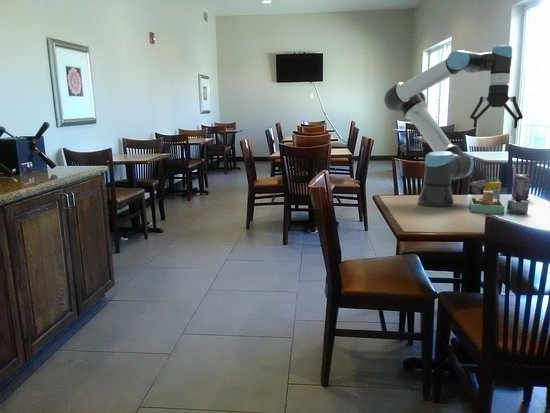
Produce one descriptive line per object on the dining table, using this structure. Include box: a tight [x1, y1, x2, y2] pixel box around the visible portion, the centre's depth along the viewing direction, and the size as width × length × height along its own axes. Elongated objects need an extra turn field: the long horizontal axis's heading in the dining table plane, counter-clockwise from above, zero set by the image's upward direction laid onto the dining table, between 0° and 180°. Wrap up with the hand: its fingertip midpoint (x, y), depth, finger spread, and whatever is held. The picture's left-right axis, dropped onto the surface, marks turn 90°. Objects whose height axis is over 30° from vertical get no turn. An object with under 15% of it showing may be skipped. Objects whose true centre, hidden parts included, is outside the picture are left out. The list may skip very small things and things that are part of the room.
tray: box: [468, 197, 506, 215], centre depth 198 cm, size 12×17×3 cm
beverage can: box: [511, 173, 531, 201], centre depth 223 cm, size 7×7×12 cm
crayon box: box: [484, 176, 502, 200], centre depth 212 cm, size 7×3×12 cm, turn 114°
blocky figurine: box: [506, 175, 529, 216], centre depth 189 cm, size 8×8×16 cm
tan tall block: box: [474, 189, 498, 206], centre depth 197 cm, size 8×13×8 cm, turn 160°
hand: (494, 136), depth 197 cm, fingers open, 13 cm apart
